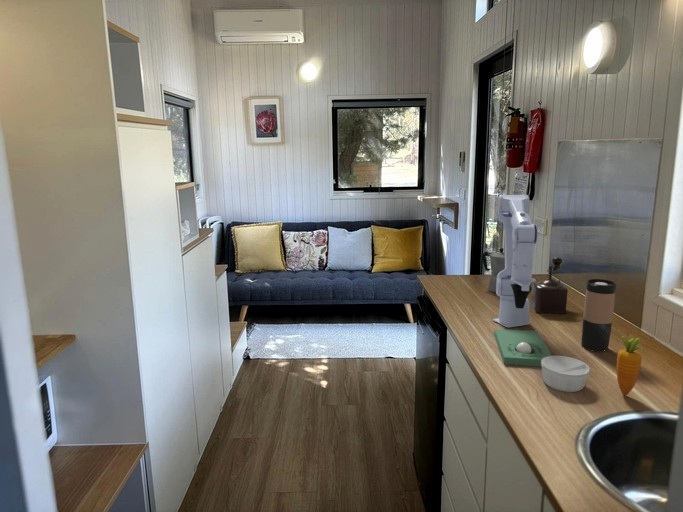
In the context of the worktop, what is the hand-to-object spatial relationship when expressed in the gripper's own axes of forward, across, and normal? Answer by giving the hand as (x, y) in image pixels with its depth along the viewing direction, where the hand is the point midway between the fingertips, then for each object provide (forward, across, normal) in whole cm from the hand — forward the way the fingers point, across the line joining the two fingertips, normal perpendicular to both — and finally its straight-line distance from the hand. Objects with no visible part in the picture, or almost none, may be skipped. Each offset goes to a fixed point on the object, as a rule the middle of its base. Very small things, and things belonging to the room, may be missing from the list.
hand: (519, 307), depth 150 cm
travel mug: (+11, -2, -22) cm, 24 cm away
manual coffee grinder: (+10, +35, -16) cm, 40 cm away
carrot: (+11, -32, -19) cm, 39 cm away
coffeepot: (+10, +56, -1) cm, 57 cm away
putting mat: (+10, -8, 0) cm, 13 cm away
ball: (+8, -12, 0) cm, 15 cm away
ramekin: (+11, -28, -7) cm, 31 cm away
